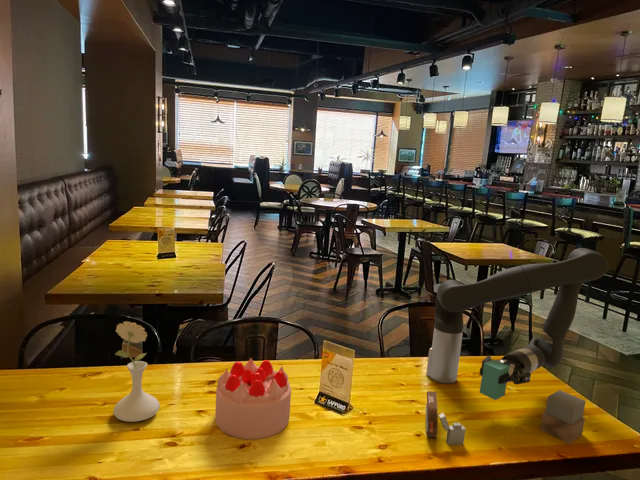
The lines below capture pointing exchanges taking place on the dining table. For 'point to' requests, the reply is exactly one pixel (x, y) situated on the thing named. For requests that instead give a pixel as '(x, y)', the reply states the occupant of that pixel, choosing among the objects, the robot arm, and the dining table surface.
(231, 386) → the cake
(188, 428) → the dining table surface
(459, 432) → the lighter
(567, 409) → the grey square block
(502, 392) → the teal pillar
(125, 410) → the flower in vase
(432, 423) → the tin
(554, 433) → the walnut base block
